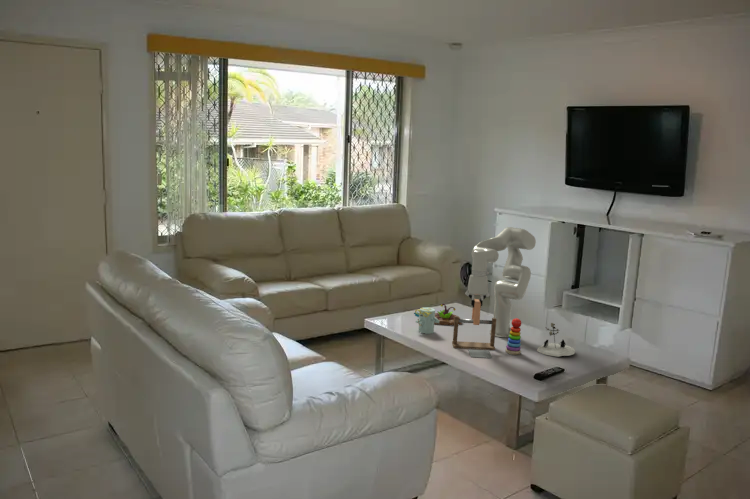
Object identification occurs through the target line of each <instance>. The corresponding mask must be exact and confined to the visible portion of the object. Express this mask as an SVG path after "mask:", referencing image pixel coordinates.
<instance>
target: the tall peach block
mask: <svg viewBox="0 0 750 499" xmlns="http://www.w3.org/2000/svg"><path fill="white" fill-rule="evenodd" d="M474 300H475V302H474V308H473V307H472V310H471V311H472V313H471V319H472V320H474V321H473V323H472V324H473V325H474V326H479V325H480V324H479V323H480V320H481V309H482V306H481V302H480V301H479V300H480V298H479V299H477V298H474Z"/></svg>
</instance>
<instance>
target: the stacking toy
mask: <svg viewBox="0 0 750 499" xmlns="http://www.w3.org/2000/svg"><path fill="white" fill-rule="evenodd" d="M521 326H522V320H521V319H519V318H513V319H512V320H511V327H510V328H511V331H510V335H509V337H507V343H506V346H505V347H506V348H505V353H506V354H508V355H511V356H518V355H521V353H522V351H521V349H522V347H521V346H522V344H521V342H522V340H521Z"/></svg>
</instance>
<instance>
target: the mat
mask: <svg viewBox="0 0 750 499" xmlns="http://www.w3.org/2000/svg"><path fill="white" fill-rule="evenodd" d="M467 351H468V353H469V356H470V358H478V359H480V358H481V359H493V355H492V354H491V350H483V349H467Z"/></svg>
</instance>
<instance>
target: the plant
mask: <svg viewBox="0 0 750 499" xmlns="http://www.w3.org/2000/svg"><path fill="white" fill-rule="evenodd" d="M443 306H444V309H443V310H439V311H437V312H435V318H437V319H438V320H439V321H440V322H439V324H438V323H435V321H434V325H437V326H438V325H439V326H450V325H452V326H454V318H455V316H457V315H456V314H453V312H454V311H456V308H455V307H453V306H451V307H450V306H449V307H448V308H447V306H446V304H445V303H442V304H440V307H443ZM451 309H452V311H450V310H451ZM459 319H461V317H460V316H459ZM458 324H459V325H458V326H460V325H462V324H463V323H458Z"/></svg>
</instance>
